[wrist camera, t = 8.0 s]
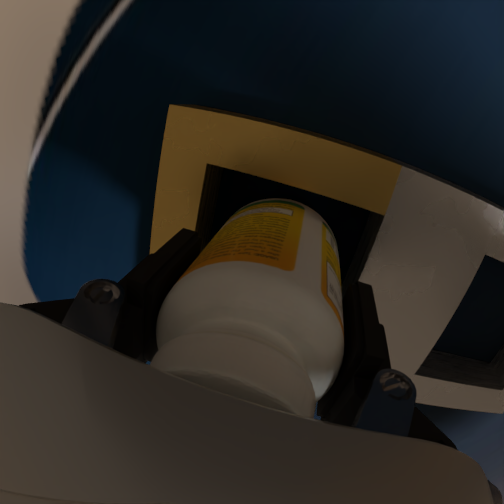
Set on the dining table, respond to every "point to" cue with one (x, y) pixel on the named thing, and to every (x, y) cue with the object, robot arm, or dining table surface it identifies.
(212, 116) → the holder
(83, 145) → the dining table surface
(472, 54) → the dining table surface
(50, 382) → the robot arm
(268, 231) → the supplement bottle
